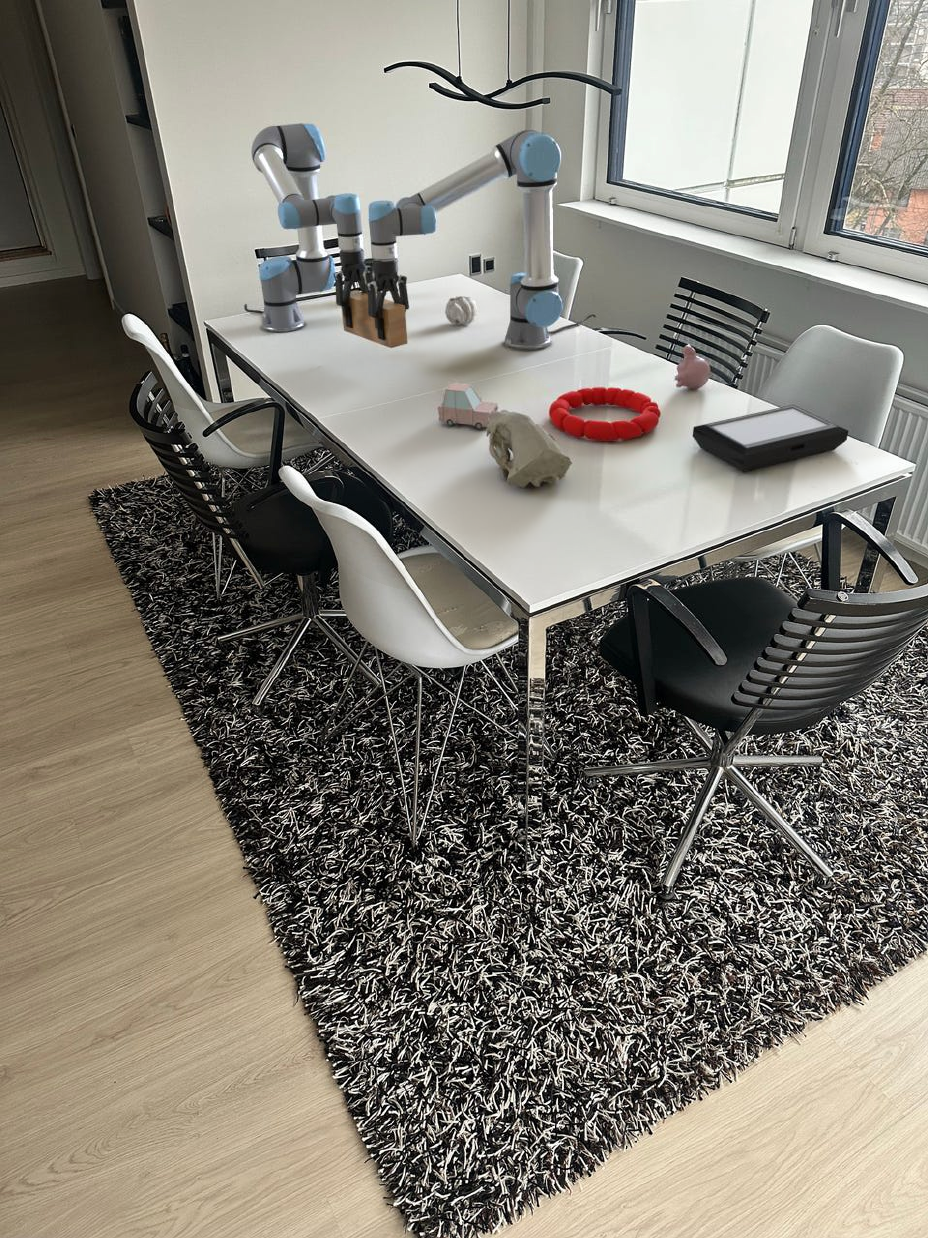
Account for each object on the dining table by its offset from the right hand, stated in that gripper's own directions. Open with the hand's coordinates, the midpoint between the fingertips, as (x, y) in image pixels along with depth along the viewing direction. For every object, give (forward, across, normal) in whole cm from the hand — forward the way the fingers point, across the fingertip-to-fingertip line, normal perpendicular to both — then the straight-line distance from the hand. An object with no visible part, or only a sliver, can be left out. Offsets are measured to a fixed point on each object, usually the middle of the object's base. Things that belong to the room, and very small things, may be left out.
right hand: (390, 336), depth 277 cm
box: (+2, 0, +9) cm, 9 cm away
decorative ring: (+11, +16, -75) cm, 77 cm away
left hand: (0, 0, +18) cm, 18 cm away
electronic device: (+11, +33, -116) cm, 121 cm away
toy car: (+11, -11, -50) cm, 52 cm away
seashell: (+11, +48, +22) cm, 54 cm away
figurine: (+11, +53, -75) cm, 93 cm away
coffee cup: (+11, +44, +72) cm, 85 cm away
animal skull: (+11, -21, -82) cm, 85 cm away
